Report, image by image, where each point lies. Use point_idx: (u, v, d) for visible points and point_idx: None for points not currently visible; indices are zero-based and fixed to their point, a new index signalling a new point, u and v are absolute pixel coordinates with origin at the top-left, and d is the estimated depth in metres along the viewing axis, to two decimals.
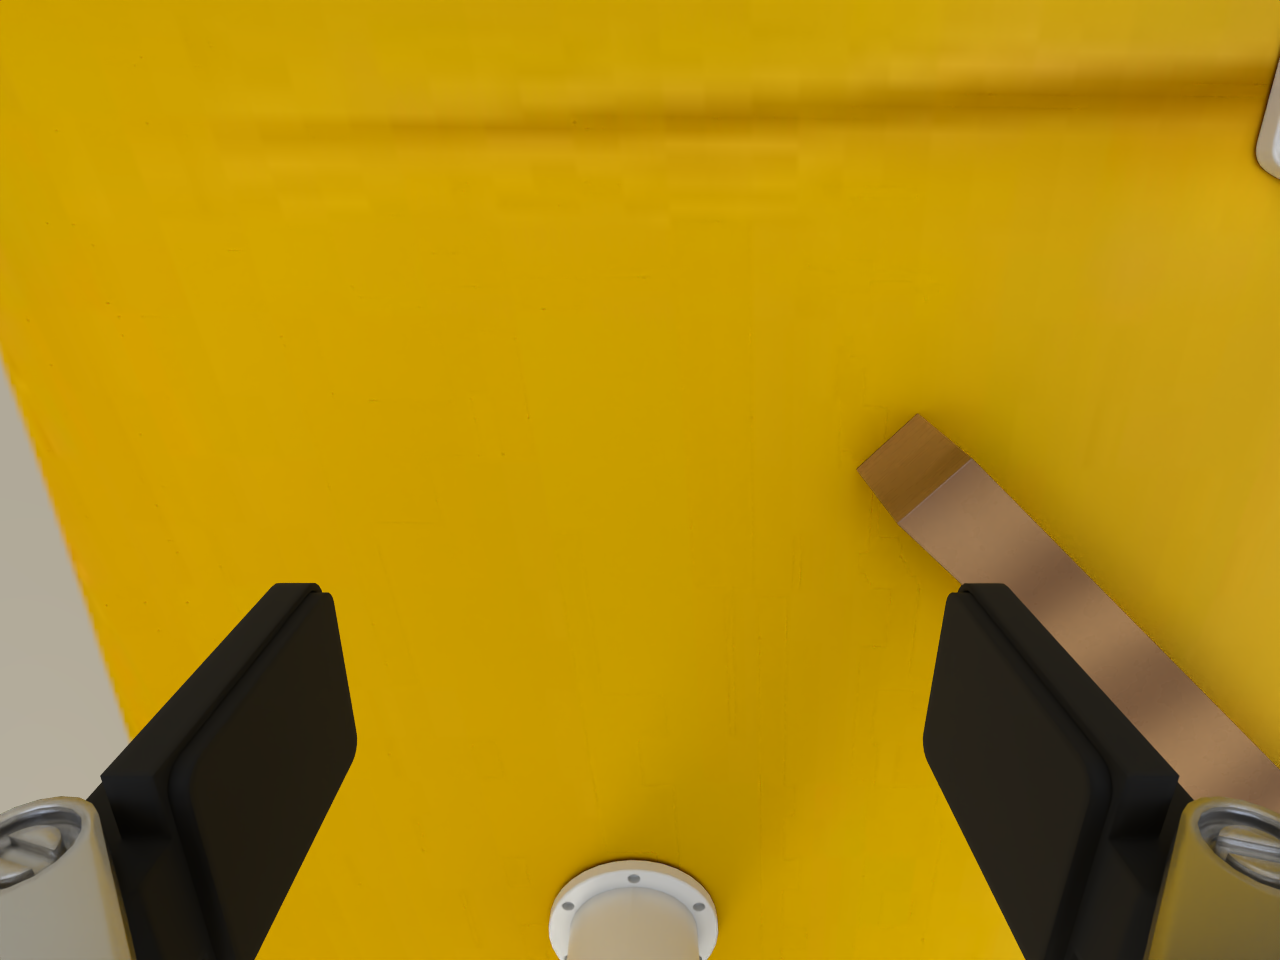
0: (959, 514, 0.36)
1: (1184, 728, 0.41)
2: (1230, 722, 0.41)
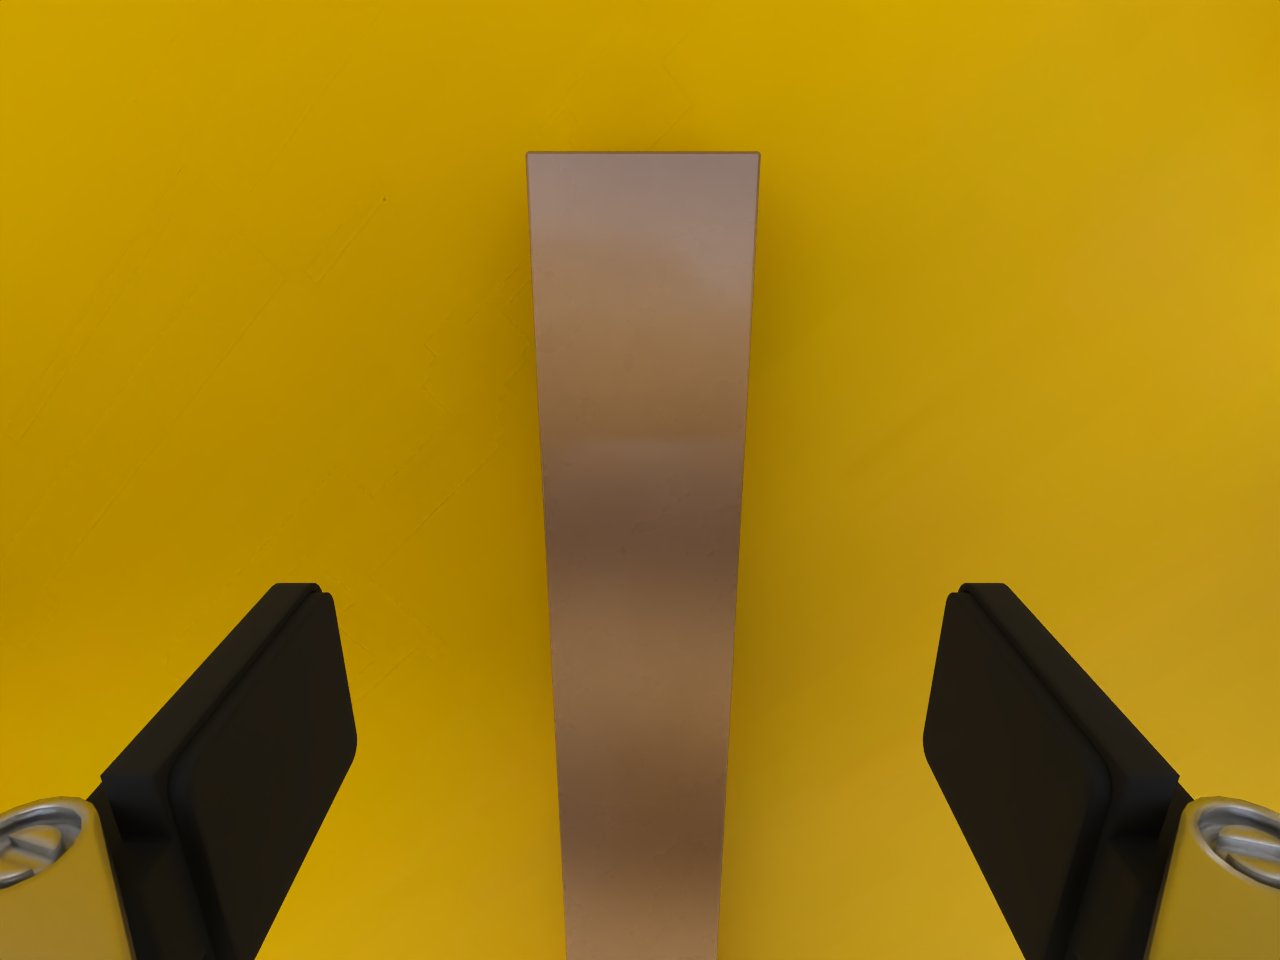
0: (647, 250, 0.15)
1: (650, 922, 0.22)
2: (713, 958, 0.23)
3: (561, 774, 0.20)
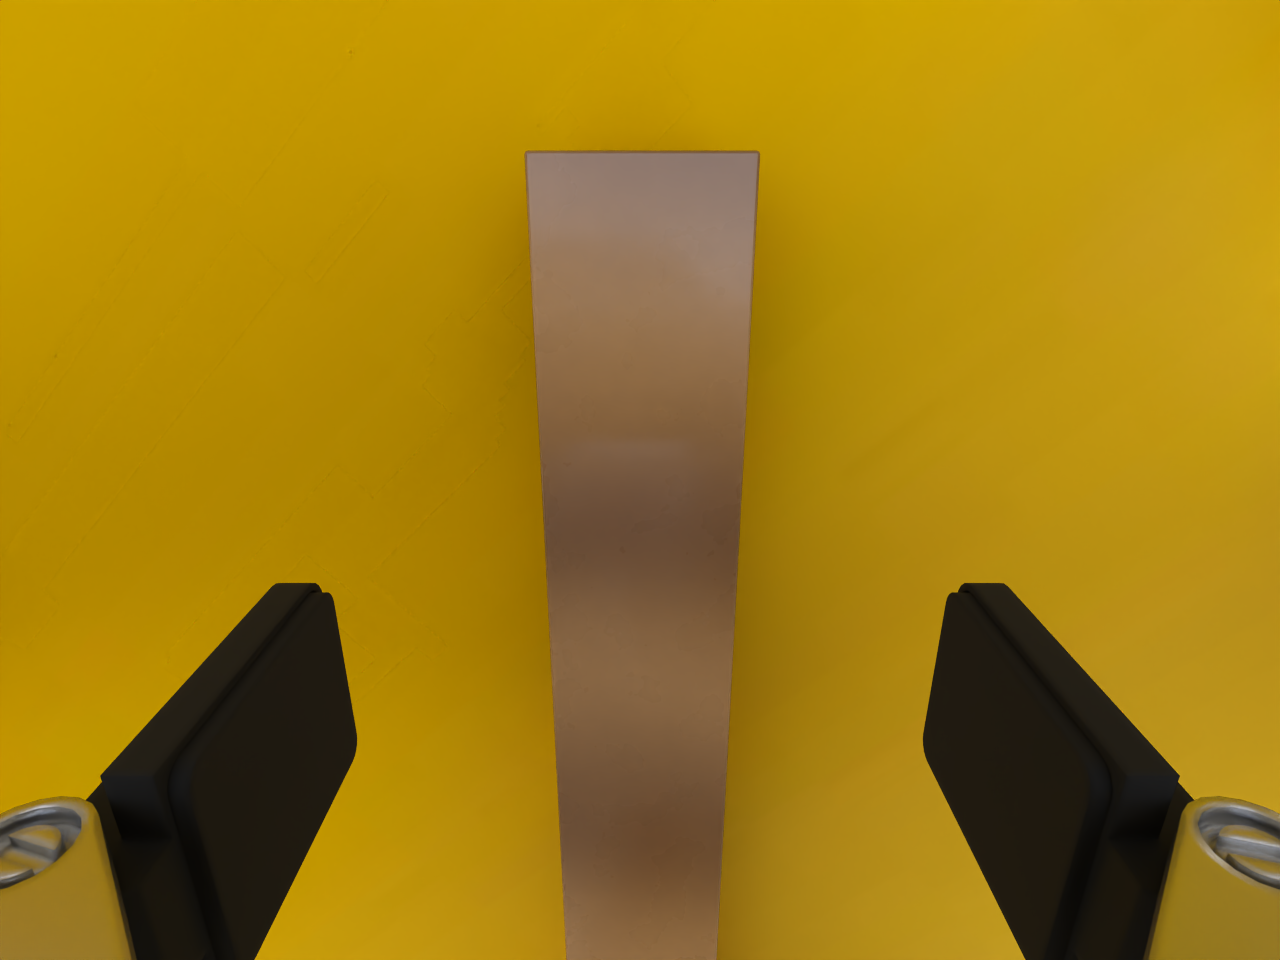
0: (646, 249, 0.15)
1: (650, 922, 0.22)
2: (713, 958, 0.23)
3: (561, 774, 0.20)
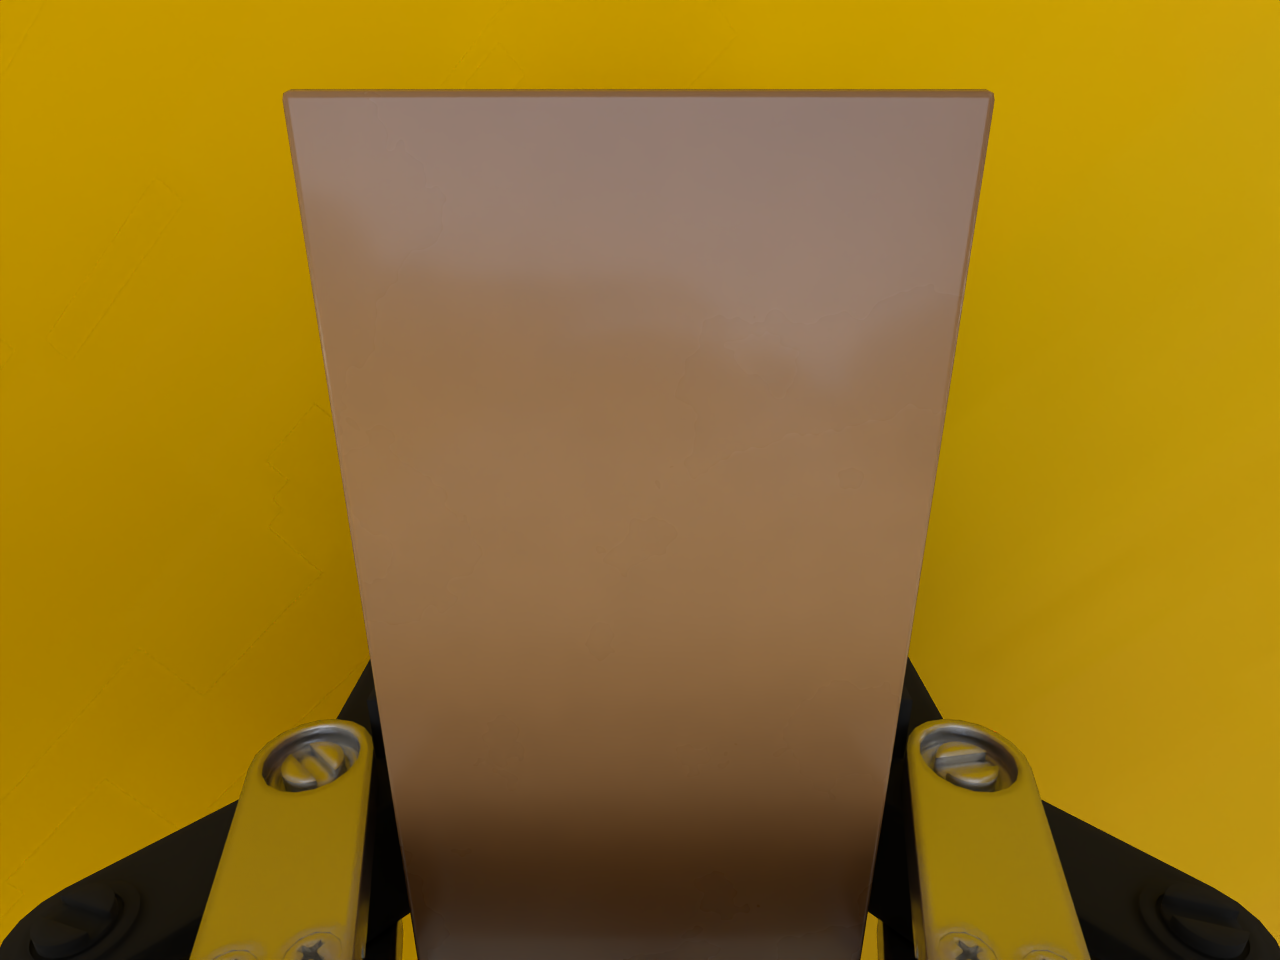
0: (651, 374, 0.05)
1: None
2: None
3: None
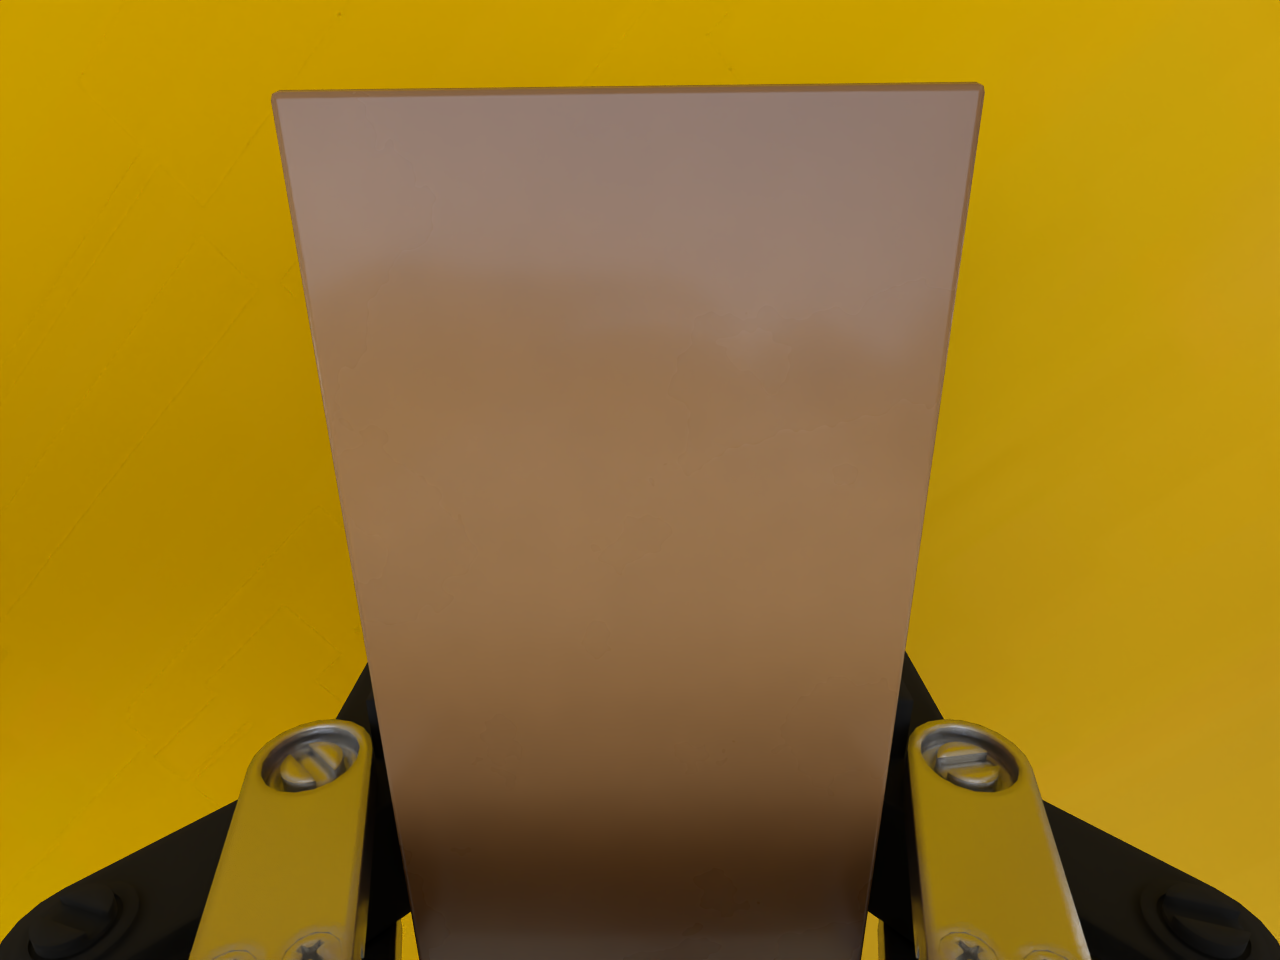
0: (642, 370, 0.05)
1: None
2: None
3: None
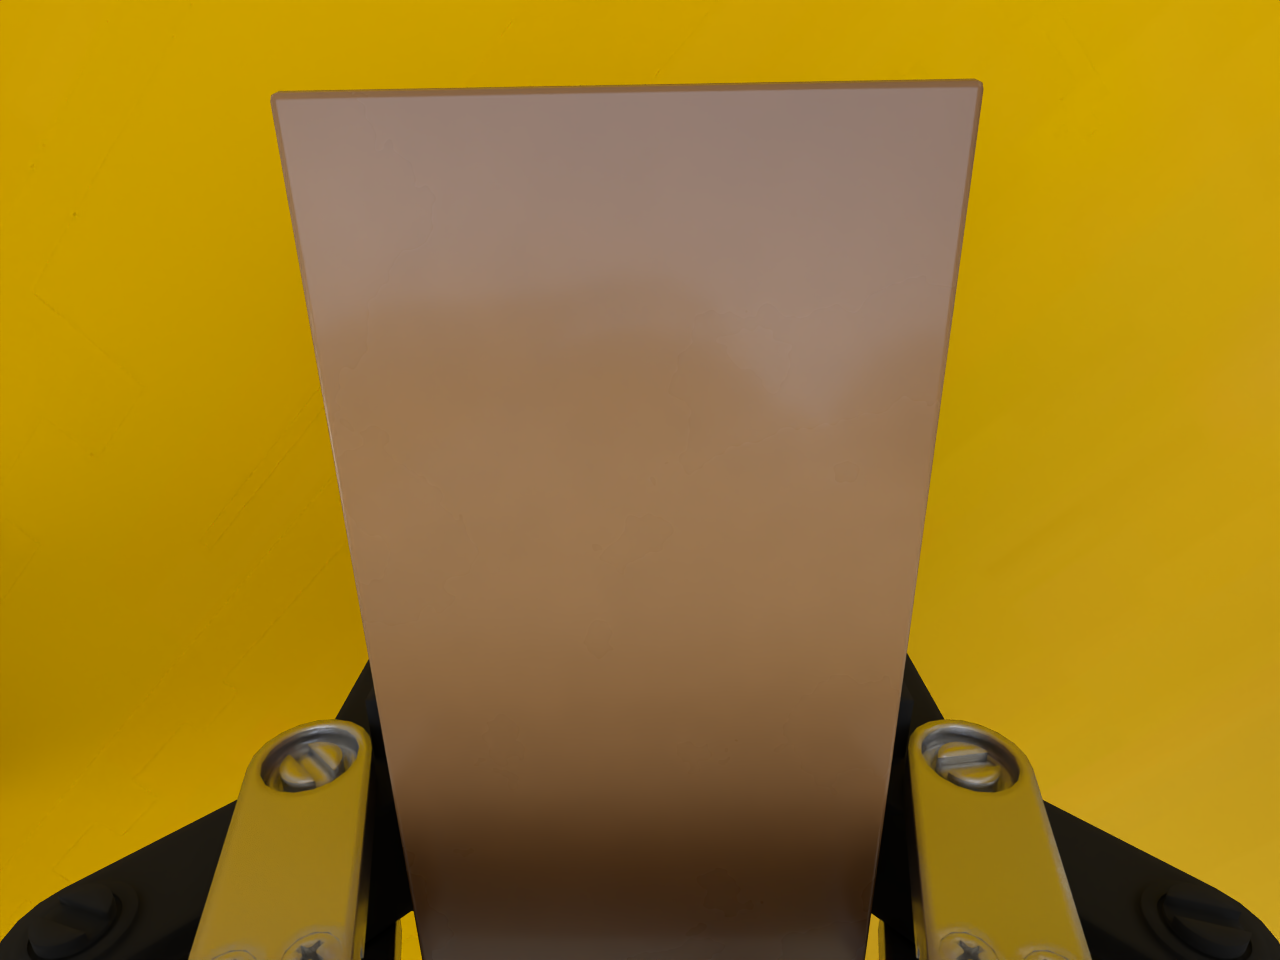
0: (644, 371, 0.05)
1: None
2: None
3: None
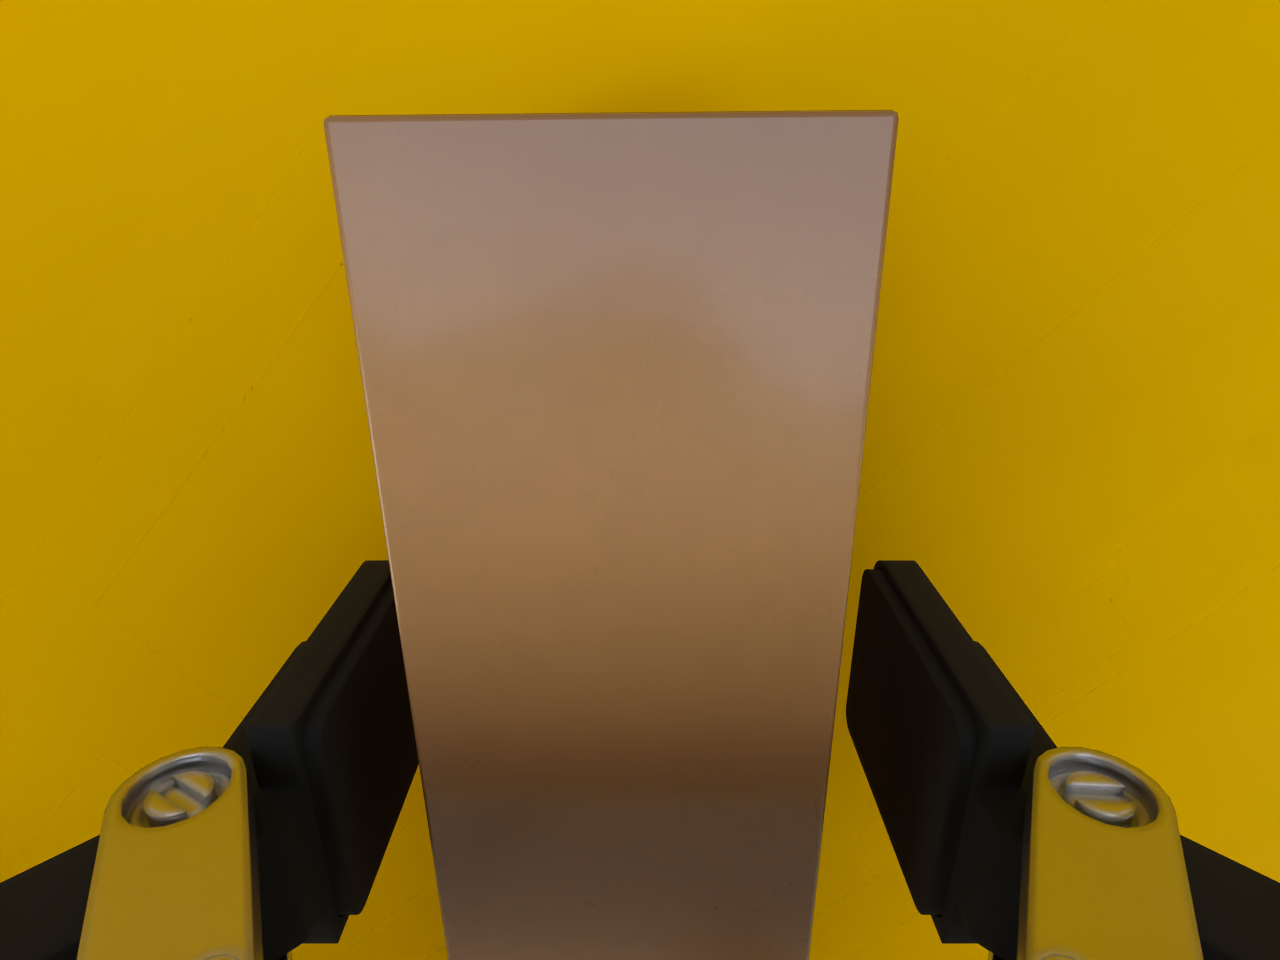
0: (625, 345, 0.07)
1: None
2: None
3: None
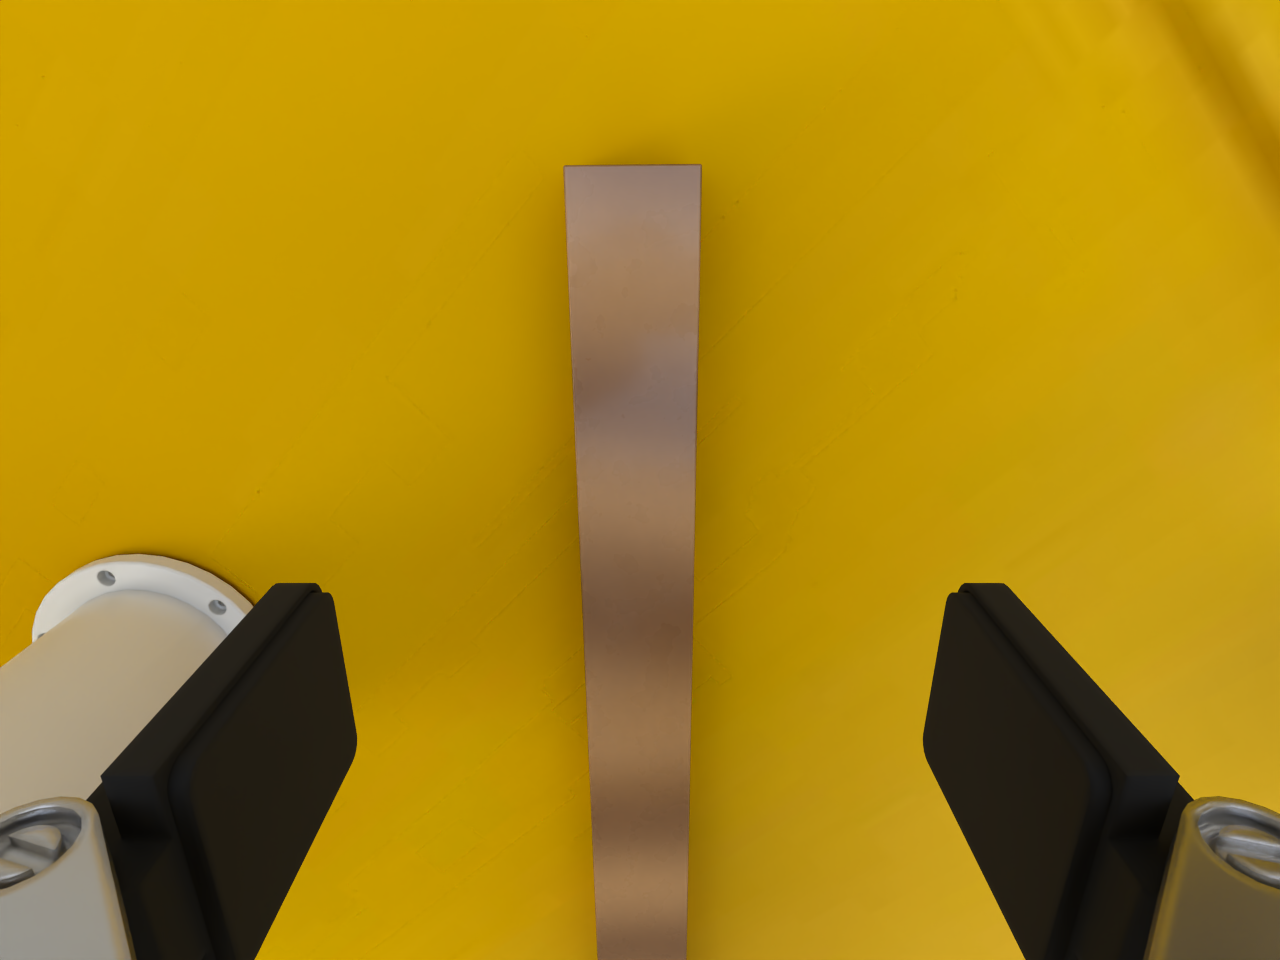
0: (635, 223, 0.26)
1: (644, 690, 0.33)
2: (688, 718, 0.33)
3: (583, 576, 0.31)
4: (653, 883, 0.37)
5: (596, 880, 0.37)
